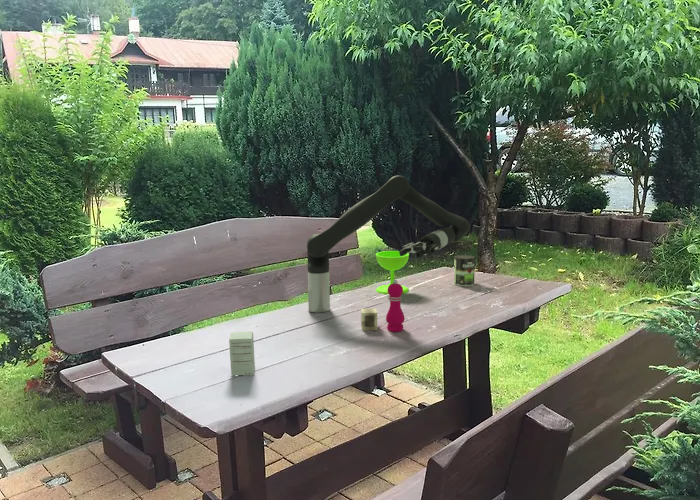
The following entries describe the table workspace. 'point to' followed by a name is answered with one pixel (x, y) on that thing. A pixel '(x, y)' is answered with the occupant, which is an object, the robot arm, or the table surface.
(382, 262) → the wineglass
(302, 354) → the table surface
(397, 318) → the pepper mill
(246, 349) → the supplement box
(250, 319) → the table surface
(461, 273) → the coffee can
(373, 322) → the pale yellow cube-like block
